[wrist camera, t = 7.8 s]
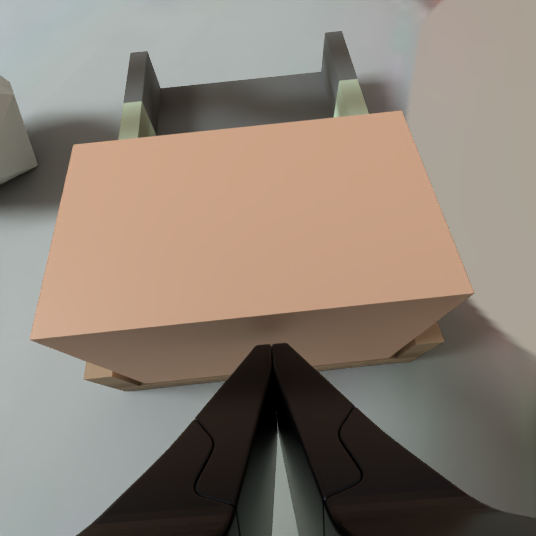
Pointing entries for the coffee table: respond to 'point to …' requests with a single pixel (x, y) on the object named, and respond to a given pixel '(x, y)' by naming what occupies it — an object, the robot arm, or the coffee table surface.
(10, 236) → the coffee table surface
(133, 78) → the track
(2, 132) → the die
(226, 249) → the block
